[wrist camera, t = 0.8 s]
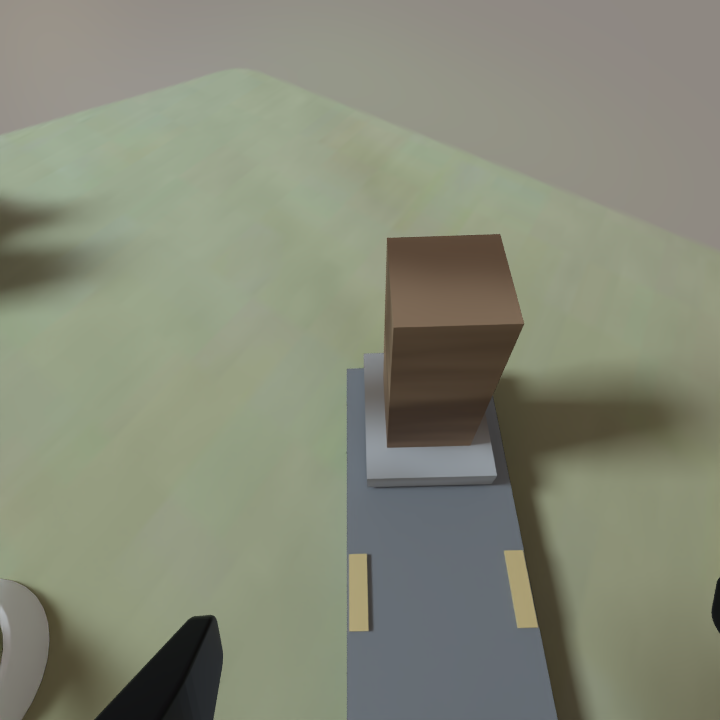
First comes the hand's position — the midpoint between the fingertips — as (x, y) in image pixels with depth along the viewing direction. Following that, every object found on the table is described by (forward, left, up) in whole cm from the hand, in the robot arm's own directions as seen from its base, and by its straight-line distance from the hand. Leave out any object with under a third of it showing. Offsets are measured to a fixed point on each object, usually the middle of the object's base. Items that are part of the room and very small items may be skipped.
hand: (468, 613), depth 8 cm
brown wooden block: (+8, -6, -13) cm, 16 cm away
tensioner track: (+3, -3, -14) cm, 15 cm away
